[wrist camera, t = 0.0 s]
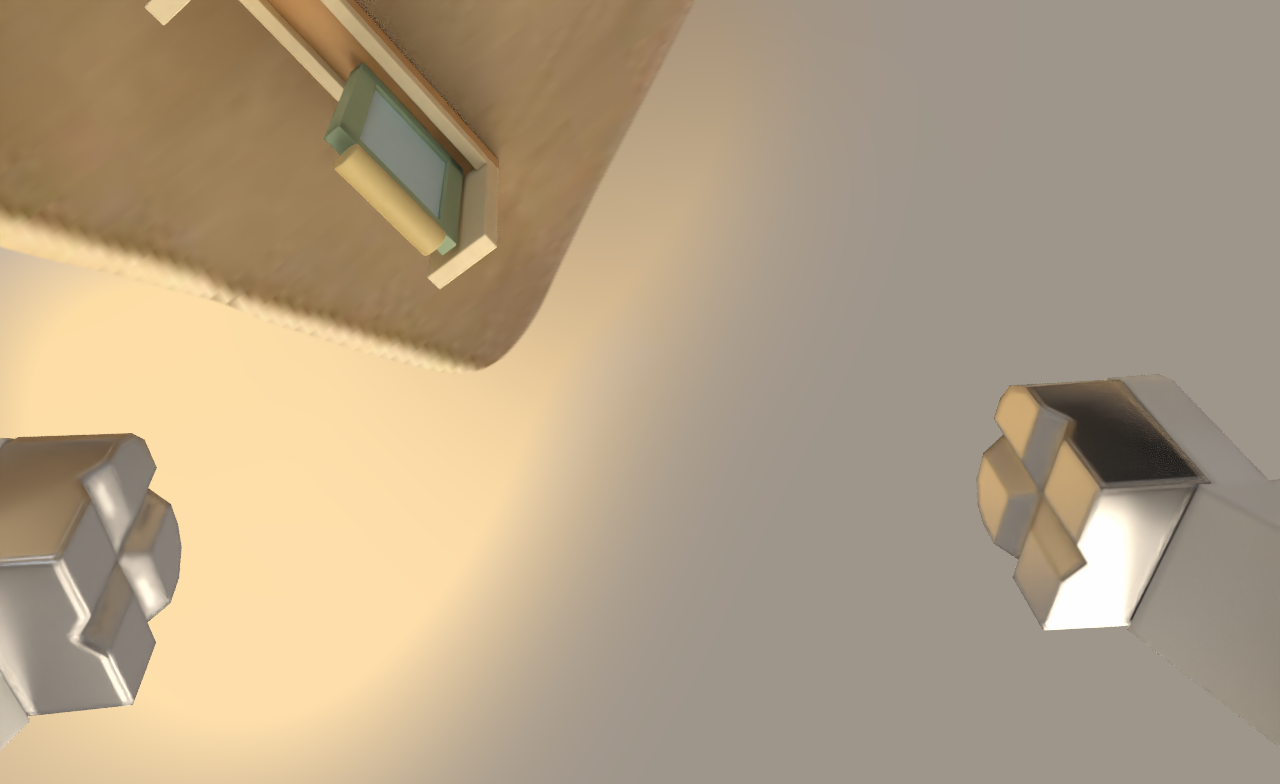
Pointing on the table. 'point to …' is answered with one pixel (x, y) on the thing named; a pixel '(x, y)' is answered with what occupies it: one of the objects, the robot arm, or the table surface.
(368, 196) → the cylinder
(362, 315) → the table surface
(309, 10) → the window frame
